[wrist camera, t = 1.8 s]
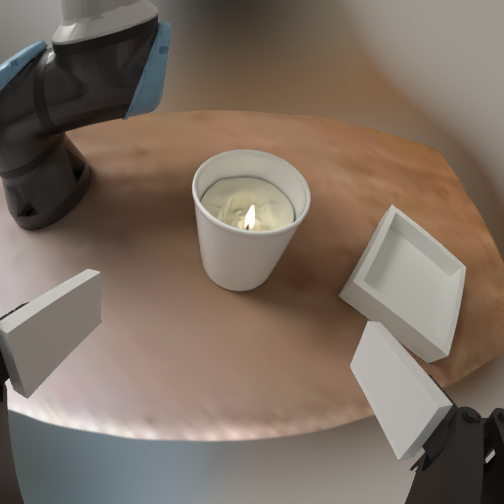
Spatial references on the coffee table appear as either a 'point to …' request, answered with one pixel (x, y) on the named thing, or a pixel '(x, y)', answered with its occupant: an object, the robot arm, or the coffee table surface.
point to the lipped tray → (408, 286)
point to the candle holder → (246, 215)
